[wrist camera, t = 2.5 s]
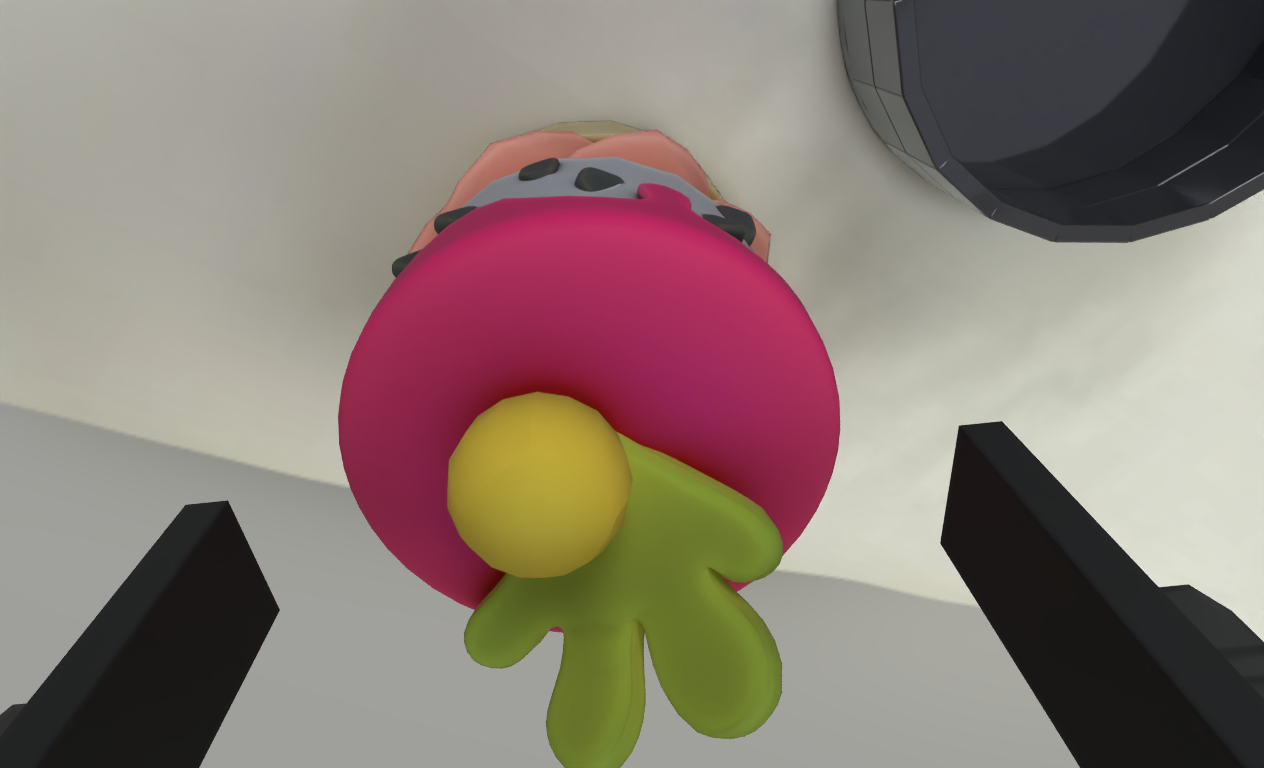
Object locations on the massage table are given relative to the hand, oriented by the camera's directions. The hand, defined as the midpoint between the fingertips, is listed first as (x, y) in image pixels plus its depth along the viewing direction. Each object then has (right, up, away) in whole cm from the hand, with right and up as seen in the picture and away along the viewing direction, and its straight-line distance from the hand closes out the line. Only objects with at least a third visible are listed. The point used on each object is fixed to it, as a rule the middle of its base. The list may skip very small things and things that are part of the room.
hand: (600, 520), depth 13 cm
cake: (-1, +6, +11) cm, 13 cm away
